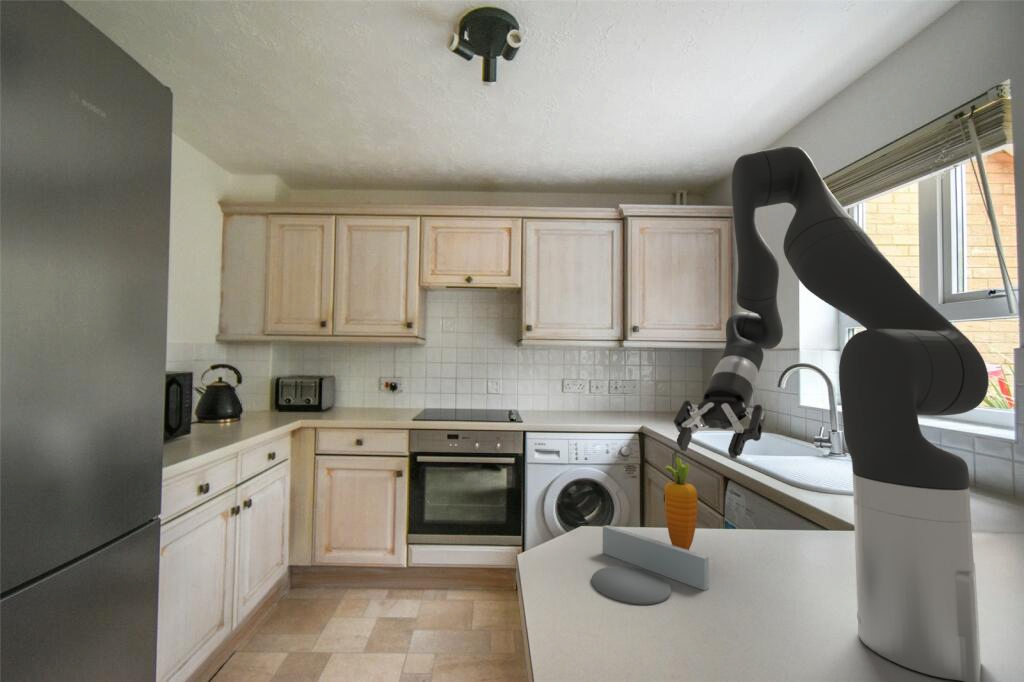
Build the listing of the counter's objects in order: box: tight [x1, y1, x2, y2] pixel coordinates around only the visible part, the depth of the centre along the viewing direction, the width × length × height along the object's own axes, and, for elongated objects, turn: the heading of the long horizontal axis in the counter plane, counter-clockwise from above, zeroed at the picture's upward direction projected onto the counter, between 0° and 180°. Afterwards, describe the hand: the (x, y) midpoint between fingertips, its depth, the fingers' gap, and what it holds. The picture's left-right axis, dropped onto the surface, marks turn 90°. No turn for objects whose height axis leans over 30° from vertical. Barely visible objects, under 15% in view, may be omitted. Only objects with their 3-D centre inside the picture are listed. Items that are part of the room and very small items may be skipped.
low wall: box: [602, 524, 710, 591], centre depth 64 cm, size 16×1×4 cm, turn 43°
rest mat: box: [591, 566, 672, 606], centre depth 58 cm, size 10×10×1 cm
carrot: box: [664, 457, 698, 551], centre depth 69 cm, size 5×5×15 cm
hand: (705, 451), depth 75 cm, fingers open, 8 cm apart
